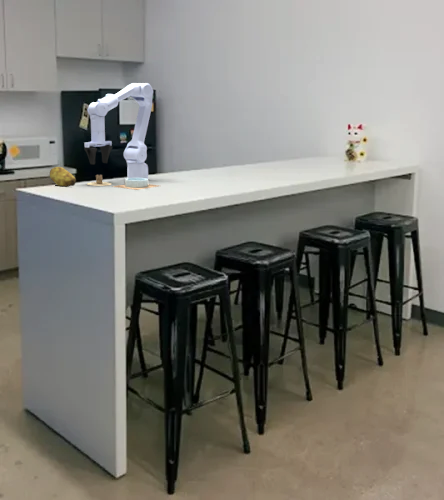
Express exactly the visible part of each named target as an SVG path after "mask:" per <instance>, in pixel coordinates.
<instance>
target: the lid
mask: <svg viewBox="0 0 444 500" xmlns="http://www.w3.org/2000/svg"><path fill="white" fill-rule="evenodd" d="M95 180H96V181H92V182H87V183H86V184H87V186H95V187H103V186H104V187H105V186H111V185H113V184H112V182H106V181H103V174H96V175H95Z"/></svg>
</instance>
